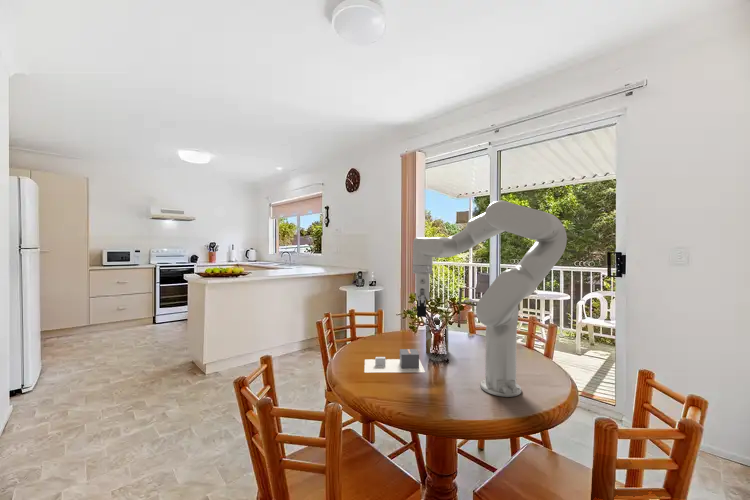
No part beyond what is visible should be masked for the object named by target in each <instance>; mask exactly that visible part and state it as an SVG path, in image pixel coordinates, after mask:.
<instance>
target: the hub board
mask: <svg viewBox="0 0 750 500" xmlns="http://www.w3.org/2000/svg"><path fill="white" fill-rule="evenodd" d="M363 373H366V374H367V373H369V374H370V373H371V374H372V373H373V374H374V373H377V374H379V373H397V374H398V373H426V370H425V368H424V366H423V364H422V361H421V359H420V358H419V369H401V365H400V358H397V359H396V358H388V359H386V356H375V359H374V358H373V359H372V358H371V359H364V371H363Z"/></svg>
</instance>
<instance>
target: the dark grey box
mask: <svg viewBox="0 0 750 500" xmlns="http://www.w3.org/2000/svg"><path fill="white" fill-rule="evenodd" d="M399 359H400V365H401V369H419V359H420V353H419V351H418V349H417V348H406V349H405V348H403V349H402V348H400V349H399Z"/></svg>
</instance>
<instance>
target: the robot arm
mask: <svg viewBox="0 0 750 500" xmlns="http://www.w3.org/2000/svg"><path fill="white" fill-rule="evenodd" d="M504 232H507V233H510V234H512V235H516V236H519V237H522V238H526V239H529V240H533V241H534V243H533V245H532V246H531V247H530V248H529V249H528V250H527V251H526V253H525V254H524V256H523V257H522V258H521V259H520V261H519V262H518V263H517V264H516V265H515V266H514V267H511V268H508V269H505V270H504V271H502V272H500V274H499V275H498V276H497V277H496V278H495V279H494V281H492V283H491V284H490V286H489V287H488V288H487V290H486V291H485V292H484V293H483V295H482V296H481V297H480V298H479V300H478V302H477V303H476V307H475V315H476V318H477V320H478V322H480V323H481V324H482V325H484V326H486V327H485V356H484V357H485V359H484V360H485V363H484V364H485V369H484V370H485V378H483V380H480V388H481V389H482V390H483V391H484V392H486V393H487V394H490V395H494V396H497V397H504V398H509V397H513V398H514V397H516V396H519V395H520V394H522V387H521V385H520V384H518V382H517V341H518V340H517V337H518V335H517V333H518V323H519V322H518V321H519V310H520V309H519V305H520V304H521V302H522V301H523V300H524V299H525V298H527V297H530V296H531V295H532V294H534V292H535V291H536V289H537V288H538V286H539V285H540V284H541V283H542V282H543V280H544V279H545V278H546V277H547V276H548V275H549V273H550V272H551V270H552V269H553V268H554V266H555V265H556V264H557V263H558V261H559V260H560V259H561V257H562V256H563V254H564V252H565V249H566V247H567V243H568V242H567V241H568V240H567V239H568V238H567V231H566V228H565V225H564V224H563V223H562V221H561V220H560V219H559V218H558V217H557V216H556V215H554V214H552V213H549V212H546V211H543V210H539V209H536V208H531V207H527V206H523V205H519V204H515V203H512V202H509V201H507V200H502V199H501V200H496V201H493V202H491V203H490V204H489V205H488V206H487V207H486V209H485V211H484V212H483V213H481V214H479V215H477V216H475V217H473V218H471V219H469V220H468V221H467V222H466V226H465V228H464V229H462V230H461V231H459V232H457V233H455V234H453V235H451V236H449V237H448V236H447V237H444V236H435V237H421V236H419V237H414V239H413V241H412V242H413V243H412V244H413V245H412V247H413V248H412V274H415V287H414V288H415V297H416V298H415V299H416V313H417V315H416V316H417V317H419V318H427V317H426V316H427V301H429V300H430V291H431V289H430V286H431V285H430V284H431V283H430V281H431V280H430V275H432V274H433V258H436V259H437V258H441V259H442V258H451V257H454V256H456V255H457V256H458V255H460V254H461V253H464V252H466V251H468V250H470V249H472V248H474V247H476V246H478V245H479V244H480V243H482V242H484V241H486V240H489V239H490V238H493V237H495V236H497V235H499V234H500V235H501V234H502V233H504Z"/></svg>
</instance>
